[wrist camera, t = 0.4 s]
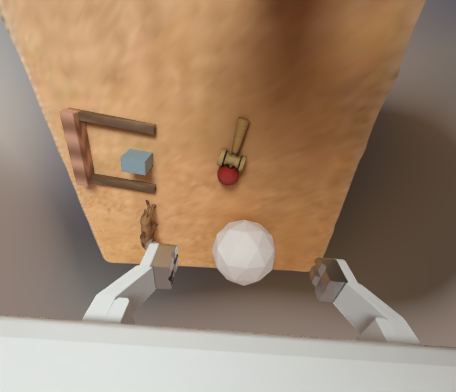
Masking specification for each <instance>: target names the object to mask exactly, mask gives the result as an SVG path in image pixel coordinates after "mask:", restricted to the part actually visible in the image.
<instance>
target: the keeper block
mask: <svg viewBox="0 0 456 392" xmlns="http://www.w3.org/2000/svg"><path fill="white" fill-rule="evenodd" d="M121 166H122V171H123V172H129V173H134V174H140V175H146V174H147V173H148V171H149V170H150V169H151V167H152V166H153V156H152V153H151V152H145V151H140V150H134V149H130V150H128V151H127V152H126V153H125V154H124V155H123V156H122V157H121Z"/></svg>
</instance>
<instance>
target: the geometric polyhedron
mask: <svg viewBox="0 0 456 392" xmlns="http://www.w3.org/2000/svg"><path fill="white" fill-rule="evenodd" d="M212 252H213V256H214V259H215V263H216V267H217V269H218V270H219V271H220V272H221V273H222V274H223V276H224V277H225V278H226V279H227V280H230V281H232V282H235V283H238V284H240V285H243V286H245V285H248V284H251V283H254V282H257V281H260V280H261V279H262V278H263V277H264V276H265V275H267V274H268V273H269V272H270V271H271V270H272V268H273V263H274V259H275V254H276V250H275V246H274V241H273V237H272V235H271V234H270V233H269V232H268V231H267V230H266V229H265V228H264V227H263V226H262V225H261V224H260V223H255V222H251V221H247V220H240V221H235V222H229V223H228V224H227V225H226V226H225V227H224V228H223V229H222V230H221V231H220V232H219V233H218V234H217V236H216V239H215V242H214V245H213V248H212Z"/></svg>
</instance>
